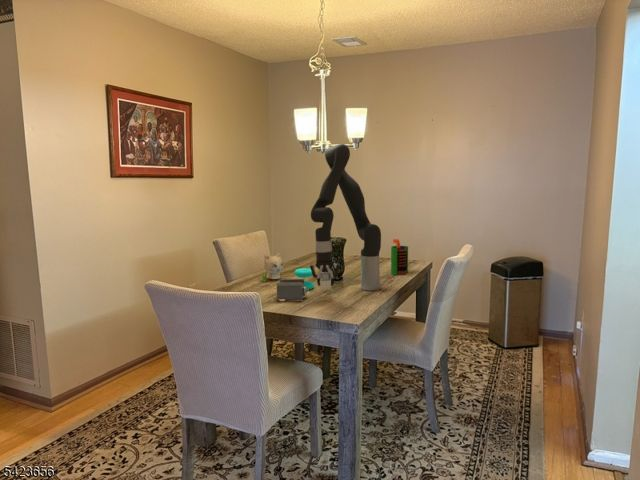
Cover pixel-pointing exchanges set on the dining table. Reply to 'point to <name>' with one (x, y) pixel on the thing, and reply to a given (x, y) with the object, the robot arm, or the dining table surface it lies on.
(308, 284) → the donuts
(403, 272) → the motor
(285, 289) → the motor housing
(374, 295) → the dining table surface
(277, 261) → the kitten
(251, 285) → the dining table surface
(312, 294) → the dining table surface
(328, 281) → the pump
